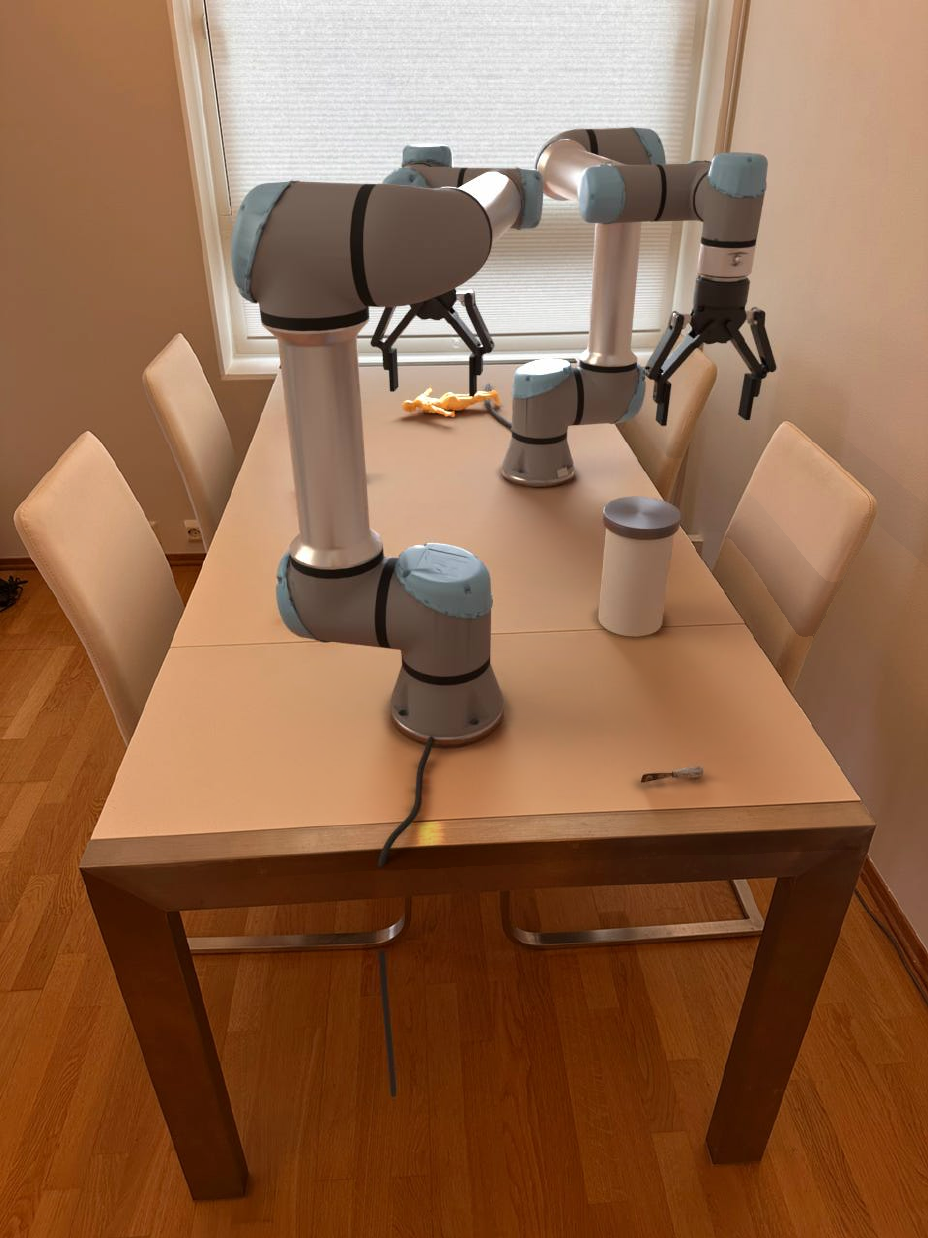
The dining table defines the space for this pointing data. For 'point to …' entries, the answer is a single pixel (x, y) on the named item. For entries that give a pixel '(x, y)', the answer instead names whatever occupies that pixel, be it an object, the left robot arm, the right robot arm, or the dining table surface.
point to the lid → (641, 518)
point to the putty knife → (674, 774)
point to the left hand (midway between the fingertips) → (433, 391)
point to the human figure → (447, 402)
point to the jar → (634, 584)
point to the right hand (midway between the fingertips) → (702, 420)
